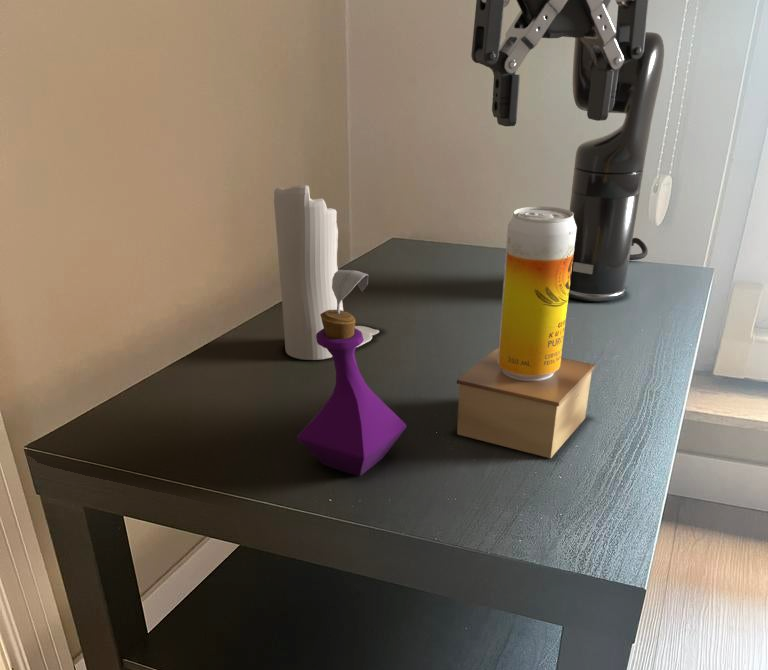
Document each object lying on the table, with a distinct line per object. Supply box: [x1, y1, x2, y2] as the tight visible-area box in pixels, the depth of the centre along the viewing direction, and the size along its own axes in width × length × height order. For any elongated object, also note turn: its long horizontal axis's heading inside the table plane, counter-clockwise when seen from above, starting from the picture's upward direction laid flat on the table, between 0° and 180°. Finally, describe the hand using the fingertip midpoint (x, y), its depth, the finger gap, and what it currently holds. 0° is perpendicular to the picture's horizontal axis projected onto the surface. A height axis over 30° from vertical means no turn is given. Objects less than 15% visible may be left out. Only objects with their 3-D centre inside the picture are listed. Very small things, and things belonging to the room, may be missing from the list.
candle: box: [273, 184, 380, 361], centre depth 97 cm, size 7×14×20 cm, turn 137°
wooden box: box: [456, 346, 596, 459], centre depth 81 cm, size 10×10×6 cm
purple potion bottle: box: [296, 269, 407, 477], centre depth 71 cm, size 8×8×18 cm
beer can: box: [498, 206, 577, 381], centre depth 75 cm, size 6×6×15 cm
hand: (552, 122), depth 67 cm, fingers open, 8 cm apart
